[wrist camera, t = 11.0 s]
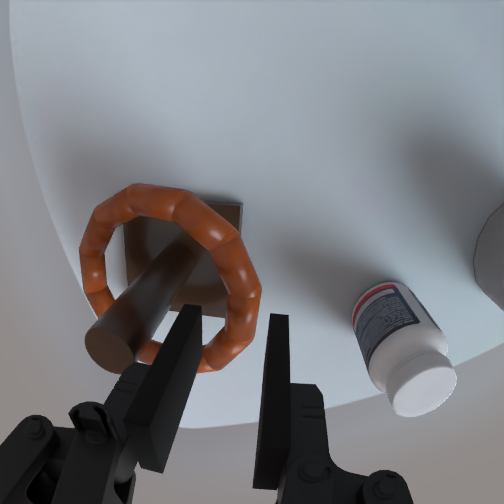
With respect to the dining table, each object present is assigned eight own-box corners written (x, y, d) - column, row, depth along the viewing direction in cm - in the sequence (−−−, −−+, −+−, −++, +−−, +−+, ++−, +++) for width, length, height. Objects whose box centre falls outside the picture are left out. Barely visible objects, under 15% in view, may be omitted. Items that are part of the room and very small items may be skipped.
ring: (88, 175, 16) (70, 179, 15) (277, 200, 14) (269, 207, 13) (101, 332, 20) (88, 343, 19) (249, 383, 18) (241, 400, 17)
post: (128, 195, 20) (18, 249, 10) (243, 202, 20) (203, 273, 10) (135, 298, 23) (60, 393, 13) (236, 312, 23) (206, 432, 12)
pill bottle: (339, 332, 23) (361, 421, 14) (367, 272, 21) (412, 349, 12) (396, 345, 23) (432, 426, 14) (426, 290, 21) (482, 362, 12)
